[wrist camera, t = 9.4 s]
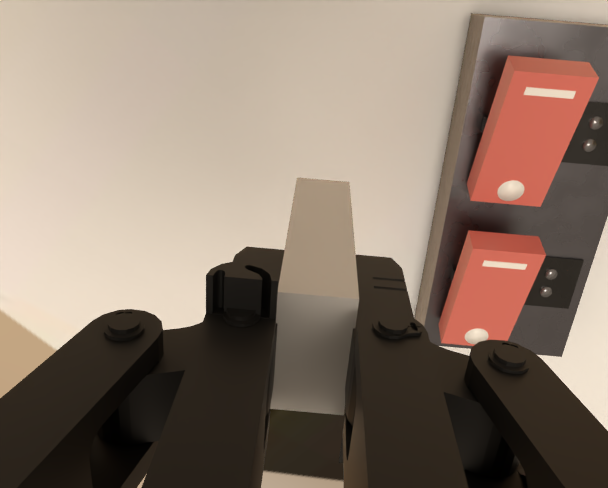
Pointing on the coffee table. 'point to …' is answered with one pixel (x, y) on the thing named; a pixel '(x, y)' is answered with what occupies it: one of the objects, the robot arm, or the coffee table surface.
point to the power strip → (519, 218)
